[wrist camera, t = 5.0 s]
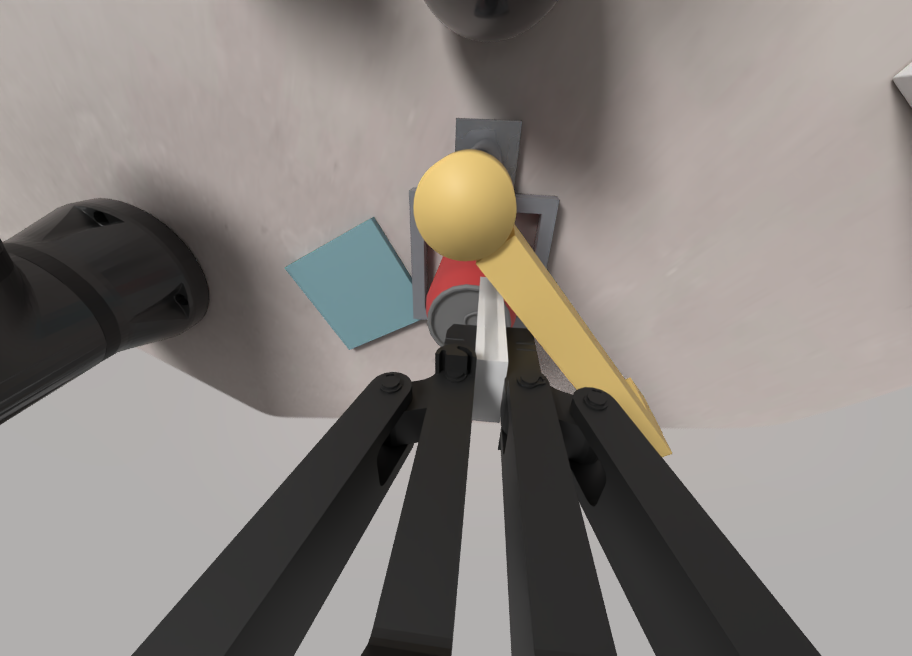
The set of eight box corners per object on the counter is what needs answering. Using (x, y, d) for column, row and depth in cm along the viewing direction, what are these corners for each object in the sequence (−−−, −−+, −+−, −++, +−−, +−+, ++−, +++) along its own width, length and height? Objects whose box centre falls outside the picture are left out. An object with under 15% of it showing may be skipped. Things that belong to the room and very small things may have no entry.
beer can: (521, 280, 33) (531, 351, 23) (459, 299, 35) (442, 373, 25) (500, 215, 30) (501, 263, 20) (433, 240, 32) (402, 296, 22)
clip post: (513, 189, 29) (528, 266, 14) (455, 186, 29) (406, 256, 14) (521, 120, 26) (550, 121, 11) (457, 118, 26) (400, 114, 11)
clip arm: (658, 390, 18) (696, 455, 15) (602, 413, 20) (625, 478, 16) (480, 125, 13) (473, 127, 9) (419, 182, 14) (392, 202, 11)
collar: (533, 321, 35) (535, 329, 34) (416, 311, 36) (413, 318, 35) (556, 196, 29) (559, 199, 27) (413, 187, 30) (409, 190, 28)
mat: (351, 345, 39) (349, 349, 39) (288, 265, 35) (284, 268, 34) (432, 311, 36) (431, 315, 35) (373, 216, 31) (370, 218, 31)
